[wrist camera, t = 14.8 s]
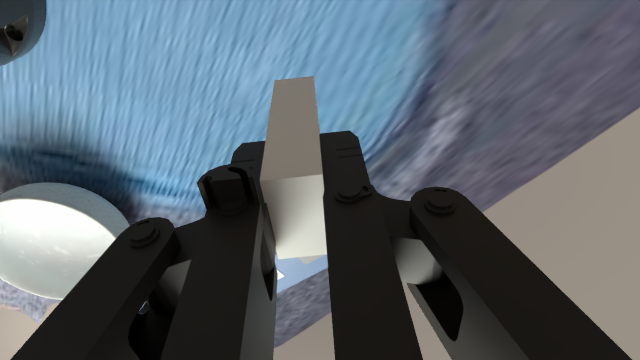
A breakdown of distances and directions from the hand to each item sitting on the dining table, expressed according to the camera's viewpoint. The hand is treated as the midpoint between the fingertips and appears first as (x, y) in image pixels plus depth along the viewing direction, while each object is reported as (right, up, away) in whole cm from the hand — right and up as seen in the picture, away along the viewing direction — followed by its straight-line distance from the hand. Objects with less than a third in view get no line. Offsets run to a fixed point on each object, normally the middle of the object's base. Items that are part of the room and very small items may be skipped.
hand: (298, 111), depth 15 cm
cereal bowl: (-31, -7, +34) cm, 47 cm away
